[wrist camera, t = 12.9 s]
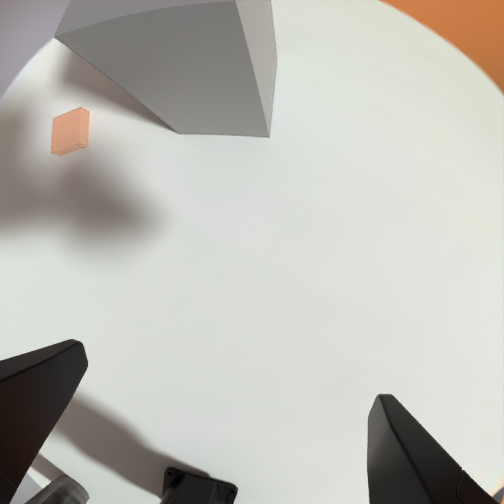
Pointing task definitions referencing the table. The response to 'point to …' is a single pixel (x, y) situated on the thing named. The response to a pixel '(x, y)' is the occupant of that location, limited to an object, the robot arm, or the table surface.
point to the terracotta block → (70, 132)
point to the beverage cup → (61, 493)
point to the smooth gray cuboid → (183, 58)
